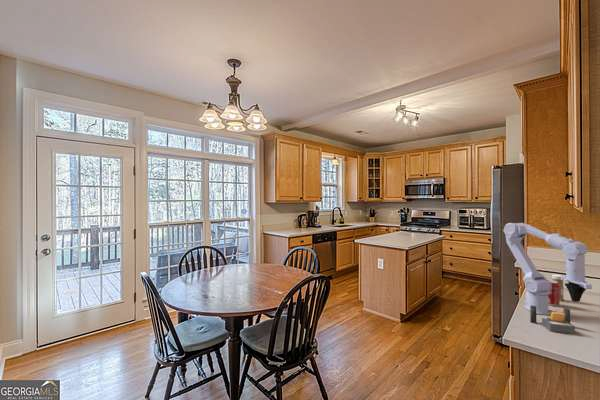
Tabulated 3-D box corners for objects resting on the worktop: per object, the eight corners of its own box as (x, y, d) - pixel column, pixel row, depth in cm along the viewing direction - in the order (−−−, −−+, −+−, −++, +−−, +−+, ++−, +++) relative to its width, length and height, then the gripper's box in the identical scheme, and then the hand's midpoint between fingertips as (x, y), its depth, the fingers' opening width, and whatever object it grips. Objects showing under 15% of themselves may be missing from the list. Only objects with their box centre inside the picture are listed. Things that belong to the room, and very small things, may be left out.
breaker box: (542, 325, 118) (542, 315, 118) (565, 327, 115) (565, 318, 115) (550, 331, 112) (550, 321, 112) (574, 334, 110) (574, 324, 110)
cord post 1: (529, 321, 122) (529, 305, 122) (534, 321, 121) (534, 305, 121) (531, 322, 120) (531, 306, 120) (537, 323, 119) (537, 307, 119)
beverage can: (542, 301, 147) (542, 279, 148) (558, 304, 143) (558, 281, 144) (543, 304, 142) (543, 281, 143) (560, 307, 138) (559, 283, 139)
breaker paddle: (549, 318, 116) (551, 311, 114) (561, 319, 114) (563, 312, 113) (551, 320, 114) (553, 313, 113) (563, 321, 113) (565, 314, 112)
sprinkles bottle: (566, 301, 148) (565, 276, 148) (556, 301, 148) (556, 276, 149) (559, 298, 152) (559, 274, 152) (550, 298, 153) (550, 273, 153)
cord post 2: (562, 324, 118) (562, 308, 119) (568, 325, 118) (568, 308, 118) (565, 326, 116) (565, 309, 117) (571, 327, 116) (571, 310, 116)
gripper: (553, 265, 127) (553, 295, 127) (577, 273, 113) (577, 306, 113) (571, 266, 126) (571, 296, 126) (597, 274, 112) (598, 307, 112)
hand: (575, 301), depth 119 cm, fingers closed
